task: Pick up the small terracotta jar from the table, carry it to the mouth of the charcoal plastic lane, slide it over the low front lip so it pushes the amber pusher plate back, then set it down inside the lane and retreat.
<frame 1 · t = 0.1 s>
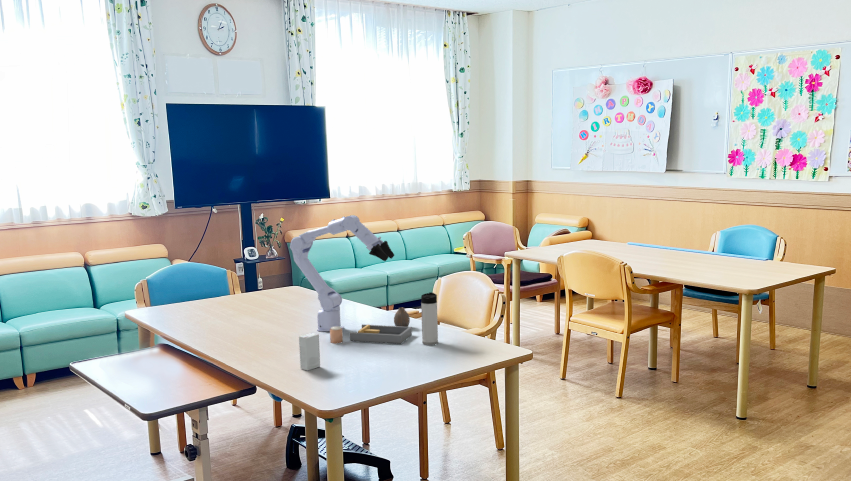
hand: (389, 258, 286), 32 cm above the table, tool tilted 50°, fingers open, 7 cm apart
brown rounded piece: (402, 328, 298), on the table
lane: (381, 338, 282), on the table
pusher: (370, 332, 283), point 2 cm above the table, slide at 0.0 cm
skincare box: (310, 368, 245), on the table
travel mug: (430, 343, 273), on the table
jar: (336, 341, 278), on the table
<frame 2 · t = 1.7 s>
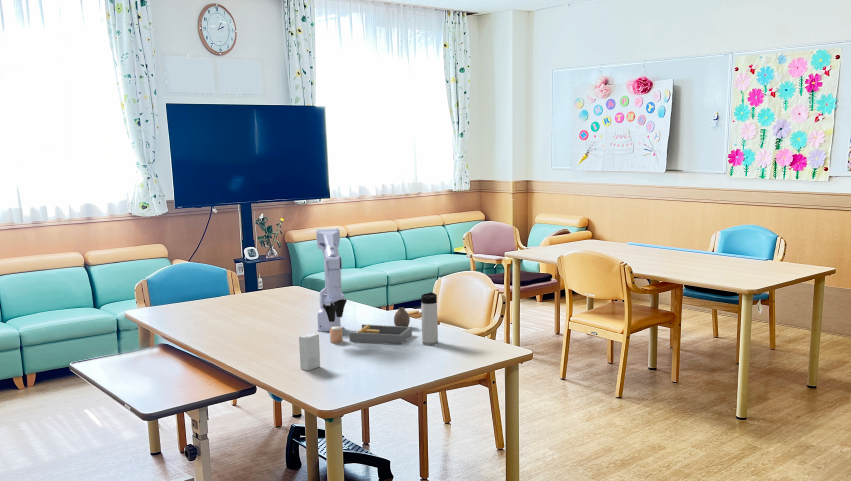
hand: (335, 319, 277), 9 cm above the table, tool pointing down, fingers open, 7 cm apart
nothing on the table moved.
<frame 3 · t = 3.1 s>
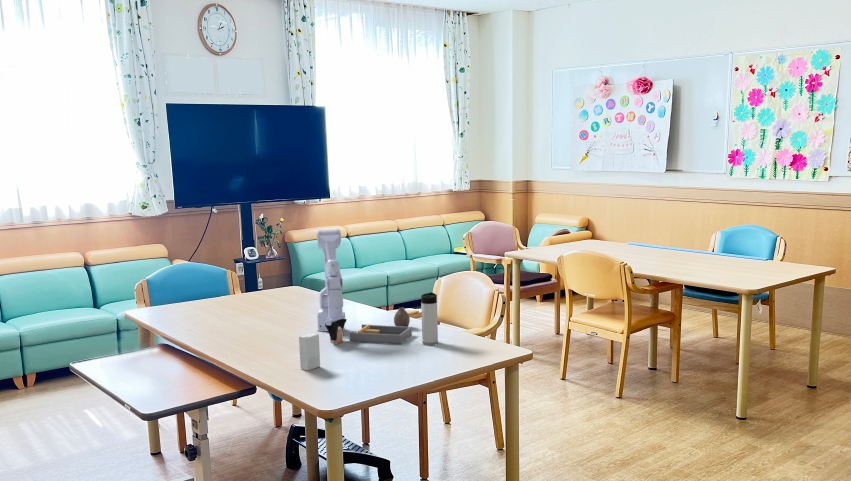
hand: (336, 338, 278), 1 cm above the table, tool pointing down, fingers closed on jar, 5 cm apart
jar: (336, 341, 278), on the table, touching gripper
everything else where it was.
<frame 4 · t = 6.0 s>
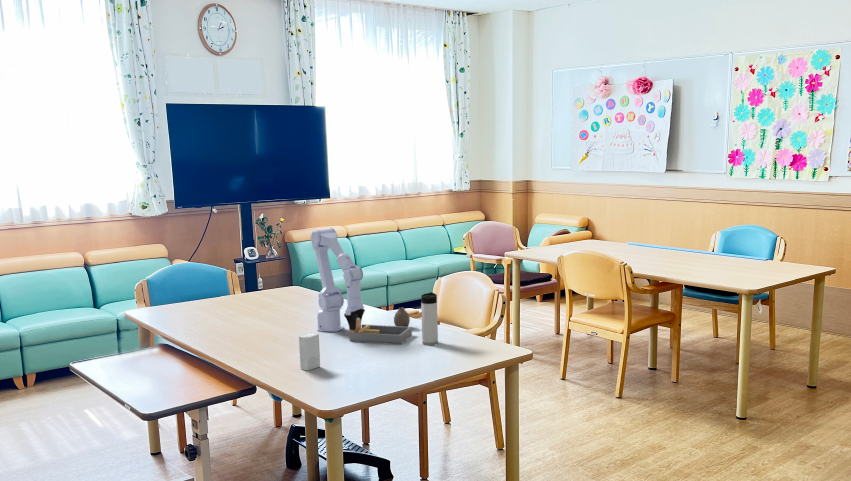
hand: (355, 328, 285), 4 cm above the table, tool pointing down, fingers closed on jar, 5 cm apart
jar: (355, 332, 285), point 2 cm above the table, touching gripper
everything else where it was.
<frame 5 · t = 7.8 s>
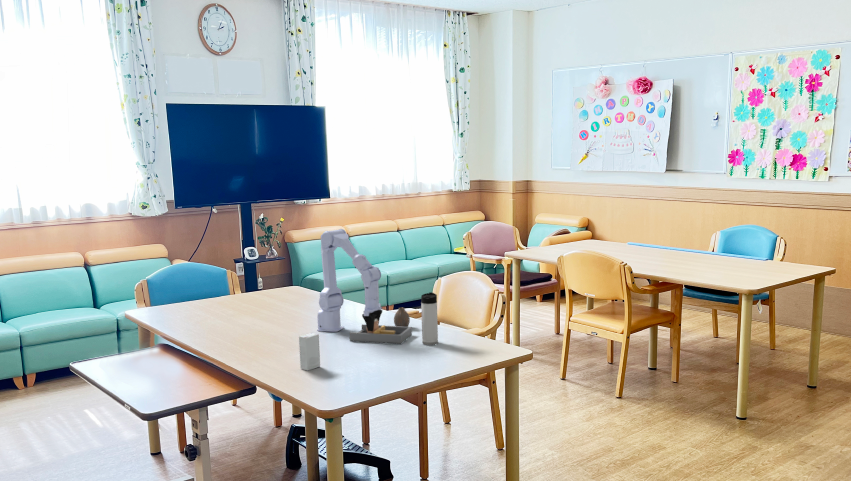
hand: (372, 329, 283), 4 cm above the table, tool pointing down, fingers closed on jar, 5 cm apart
pusher: (386, 332, 281), point 2 cm above the table, slide at 6.9 cm, touching jar
jar: (372, 333, 283), point 2 cm above the table, touching gripper, pusher
everything else where it was.
when the fingers open (2 cm above the table, at t = 8.9 s): jar stays where it is, resting on lane, pusher.
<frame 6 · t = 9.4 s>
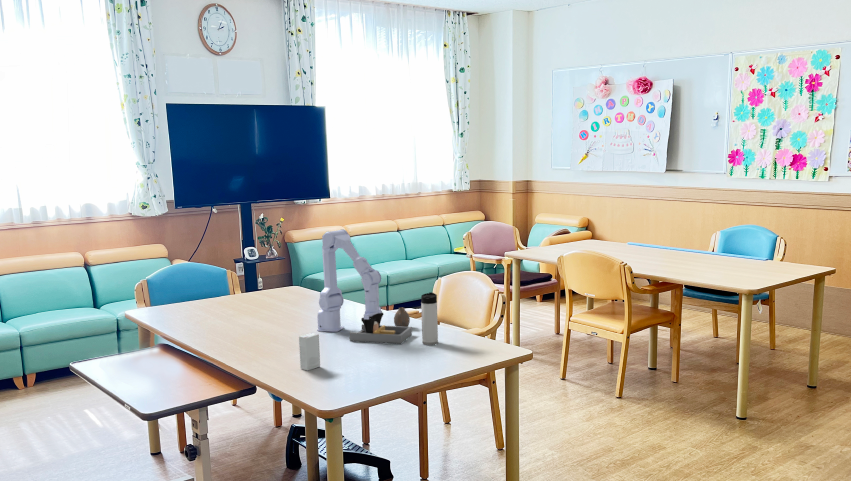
hand: (373, 332, 283), 2 cm above the table, tool pointing down, fingers open, 7 cm apart
jar: (372, 336, 283), resting on lane, pusher
everything else where it was.
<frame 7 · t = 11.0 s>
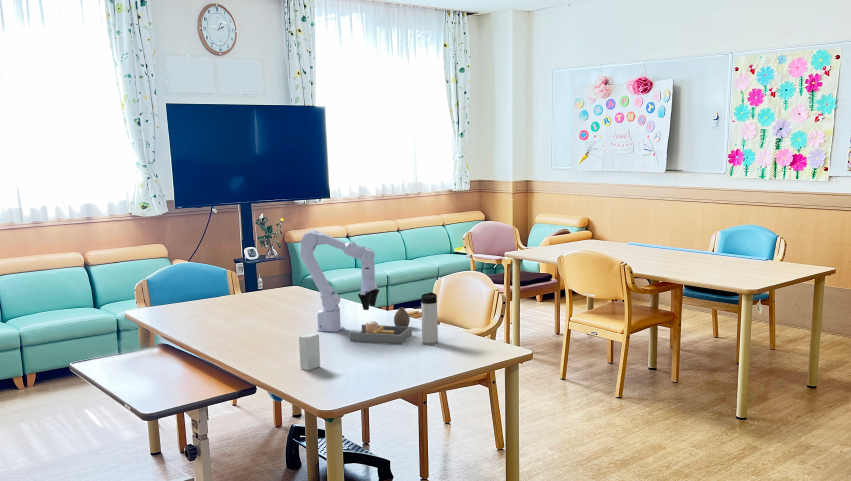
hand: (369, 307, 296), 9 cm above the table, tool pointing down, fingers open, 7 cm apart
nothing on the table moved.
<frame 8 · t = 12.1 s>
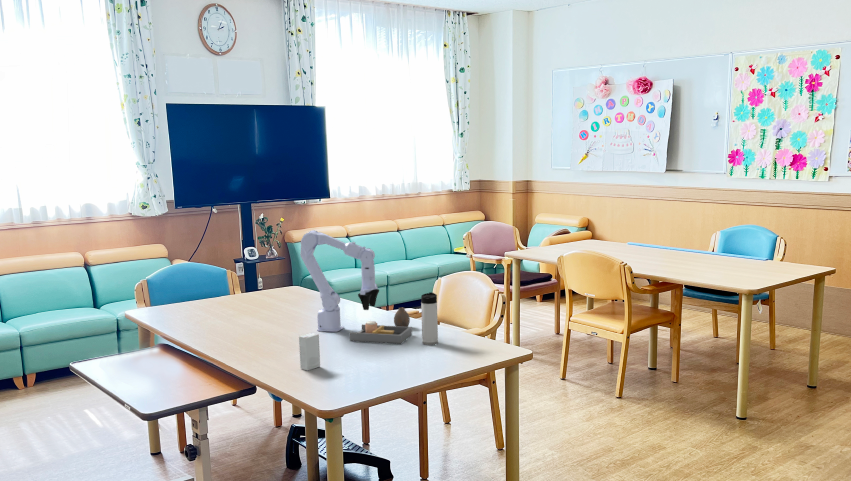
hand: (369, 307, 296), 9 cm above the table, tool pointing down, fingers open, 7 cm apart
nothing on the table moved.
at the end: jar inside the target area on the lane (0.2 cm from its centre), point 0.5 cm above the lane's base; jar tilted 0°; pusher slide at 6.3 cm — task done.
